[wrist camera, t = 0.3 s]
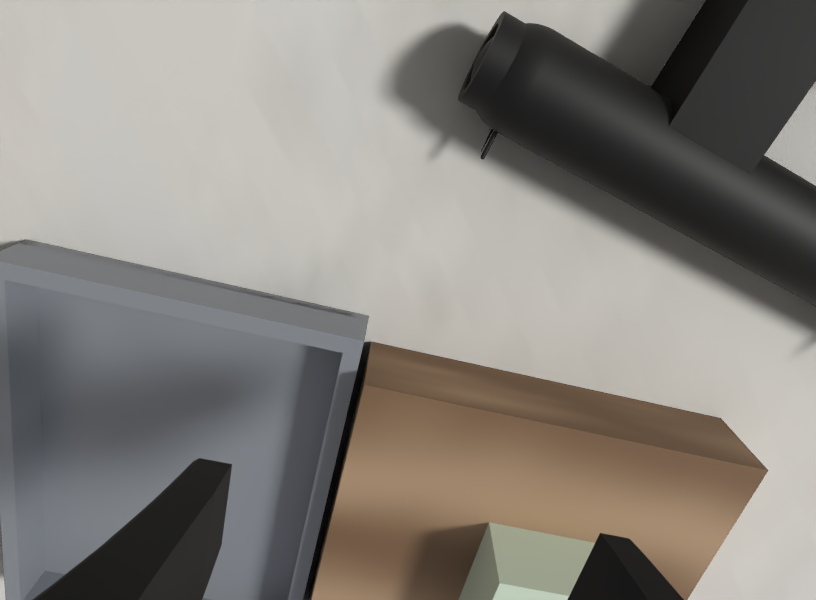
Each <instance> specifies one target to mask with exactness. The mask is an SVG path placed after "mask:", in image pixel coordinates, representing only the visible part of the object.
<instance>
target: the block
mask: <svg viewBox="0 0 816 600" xmlns="http://www.w3.org/2000/svg"><path fill="white" fill-rule="evenodd" d="M594 544H595V543H593V542H588V541H583V540H578V539H573V538H568V537H563V536H557V535H552V534H547V533H542V532H537V531H532V530H526V529H521V528H516V527H511V526H506V525H501V524H495V523H490V522H489V524H488V526H487V529H486V531H485V534H484V536H483V539H482V541H481V544H480V547H479V549H478V552H477V554H476V557H475V559H474V562H473V564H472V567H471V569H470V572H469V574H468V577H467V579H466V582H465V585H464V587H463V590H462V592H461V595H460V597H459V600H568V598H569V596H570V594H571V591H572V589H573V587H574V585H575V583H576V581H577V579H578V577H579V575H580V573H581V571H582V569H583V567H584V565H585V563H586V561H587V559H588V557H589V555H590V553H591V550H592V548H593V546H594Z"/></svg>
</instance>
